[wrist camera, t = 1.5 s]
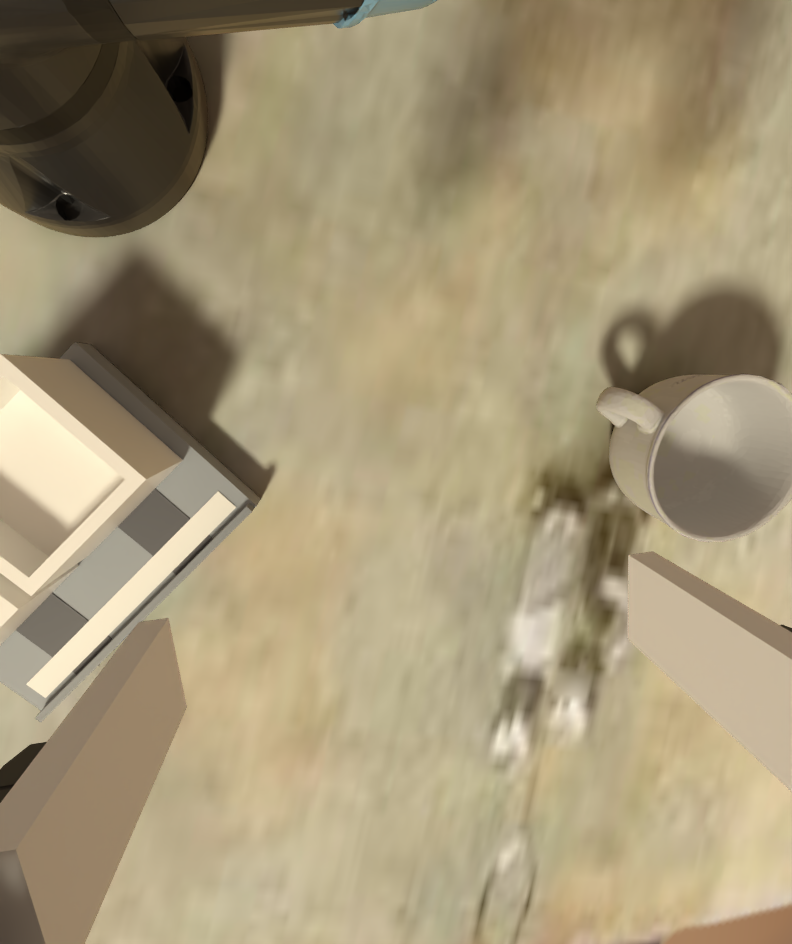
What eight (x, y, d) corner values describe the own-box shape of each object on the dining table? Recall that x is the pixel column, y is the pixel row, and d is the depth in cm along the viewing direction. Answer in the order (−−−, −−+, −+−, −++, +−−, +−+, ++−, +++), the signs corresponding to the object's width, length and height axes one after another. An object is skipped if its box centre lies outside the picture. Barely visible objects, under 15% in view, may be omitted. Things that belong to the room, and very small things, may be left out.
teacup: (745, 432, 40) (845, 445, 32) (655, 538, 40) (732, 577, 33) (624, 317, 37) (702, 300, 29) (530, 433, 38) (581, 447, 30)
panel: (-171, 616, 34) (-219, 638, 31) (90, 344, 33) (66, 340, 30) (16, 743, 37) (-11, 774, 34) (260, 498, 36) (254, 509, 33)
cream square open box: (-29, 461, 31) (-121, 481, 25) (69, 359, 31) (1, 354, 25) (89, 555, 33) (31, 596, 27) (183, 460, 33) (146, 479, 27)
